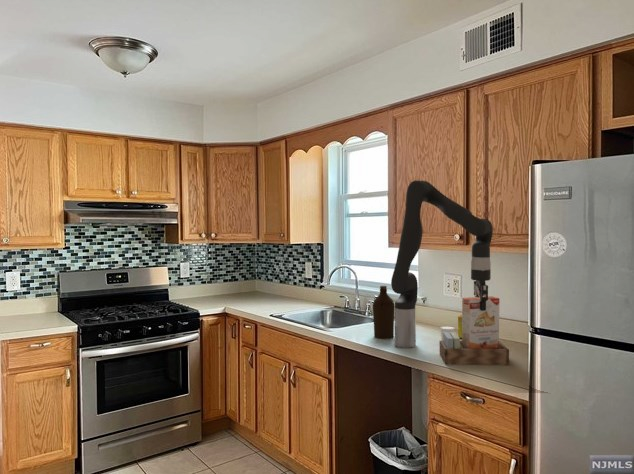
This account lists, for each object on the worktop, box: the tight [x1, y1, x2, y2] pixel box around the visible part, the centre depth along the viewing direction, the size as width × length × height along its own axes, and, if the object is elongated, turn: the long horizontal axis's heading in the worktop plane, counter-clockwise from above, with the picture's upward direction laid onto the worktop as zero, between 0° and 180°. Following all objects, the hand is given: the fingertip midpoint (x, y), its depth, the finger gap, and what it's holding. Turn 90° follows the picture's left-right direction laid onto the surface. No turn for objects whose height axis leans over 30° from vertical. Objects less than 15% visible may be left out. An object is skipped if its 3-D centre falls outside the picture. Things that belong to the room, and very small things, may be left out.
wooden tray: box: [439, 340, 510, 366], centre depth 201 cm, size 24×14×6 cm, turn 85°
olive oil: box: [372, 285, 395, 340], centre depth 242 cm, size 11×11×25 cm
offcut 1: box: [443, 332, 453, 349], centre depth 202 cm, size 2×11×10 cm, turn 175°
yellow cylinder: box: [457, 314, 462, 340], centre depth 236 cm, size 6×6×11 cm
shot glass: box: [439, 325, 456, 341], centre depth 229 cm, size 7×7×7 cm
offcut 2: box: [450, 331, 461, 349], centre depth 201 cm, size 2×11×10 cm, turn 175°
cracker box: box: [461, 295, 500, 349], centre depth 200 cm, size 14×6×21 cm, turn 106°
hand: (480, 308), depth 200 cm, fingers closed on cracker box, 7 cm apart
